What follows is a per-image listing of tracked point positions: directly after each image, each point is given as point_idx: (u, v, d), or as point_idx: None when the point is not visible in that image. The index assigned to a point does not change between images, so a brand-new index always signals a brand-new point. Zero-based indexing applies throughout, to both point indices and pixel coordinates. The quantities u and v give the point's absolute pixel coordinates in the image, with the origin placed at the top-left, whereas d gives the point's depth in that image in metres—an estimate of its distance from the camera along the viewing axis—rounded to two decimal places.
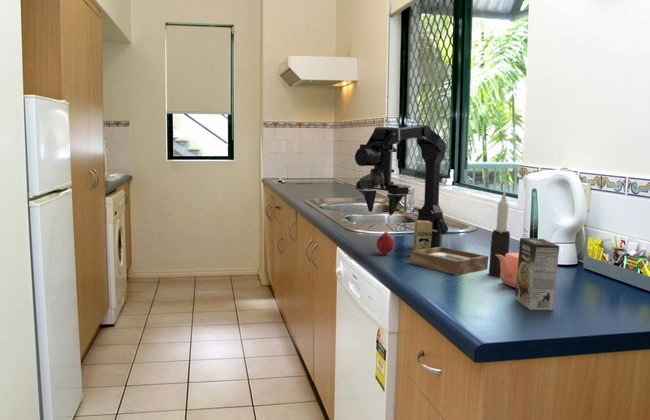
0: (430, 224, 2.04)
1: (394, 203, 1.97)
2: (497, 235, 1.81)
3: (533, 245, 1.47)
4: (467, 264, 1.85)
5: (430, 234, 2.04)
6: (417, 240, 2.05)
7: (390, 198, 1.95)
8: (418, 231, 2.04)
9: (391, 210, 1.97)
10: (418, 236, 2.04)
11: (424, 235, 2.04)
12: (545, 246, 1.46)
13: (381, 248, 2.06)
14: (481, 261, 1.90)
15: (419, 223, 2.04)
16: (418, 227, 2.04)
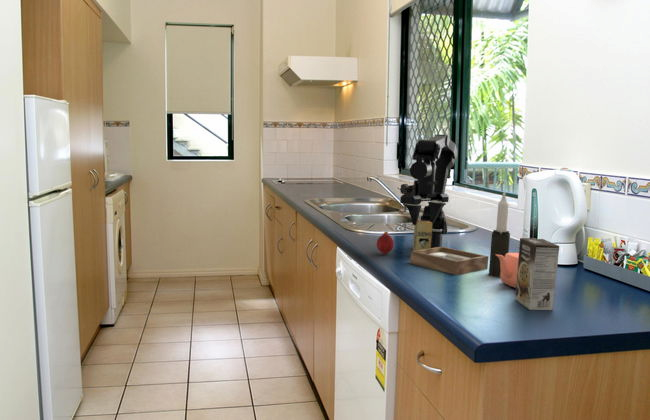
0: (430, 224, 2.04)
1: (413, 213, 2.02)
2: (497, 235, 1.81)
3: (533, 245, 1.47)
4: (467, 264, 1.85)
5: (430, 234, 2.04)
6: (417, 240, 2.05)
7: None
8: (418, 231, 2.04)
9: (412, 219, 2.03)
10: (418, 236, 2.04)
11: (424, 235, 2.04)
12: (545, 246, 1.46)
13: (381, 248, 2.06)
14: (481, 261, 1.90)
15: (419, 223, 2.04)
16: (418, 227, 2.04)
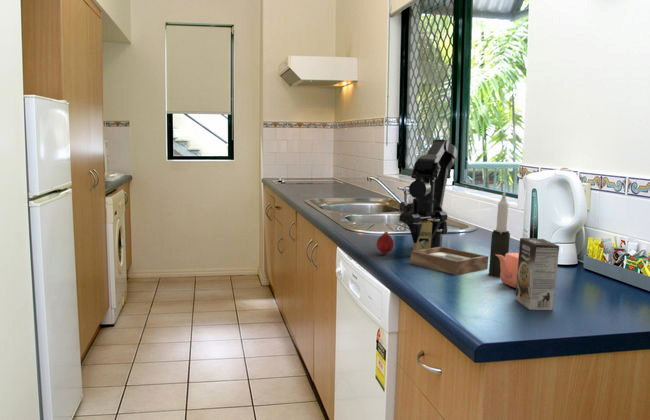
0: (430, 224, 2.04)
1: (413, 231, 2.03)
2: (497, 235, 1.81)
3: (533, 245, 1.47)
4: (467, 264, 1.85)
5: (430, 234, 2.04)
6: None
7: None
8: None
9: (413, 237, 2.05)
10: None
11: (424, 235, 2.04)
12: (545, 246, 1.46)
13: (381, 248, 2.06)
14: (481, 261, 1.90)
15: None
16: None
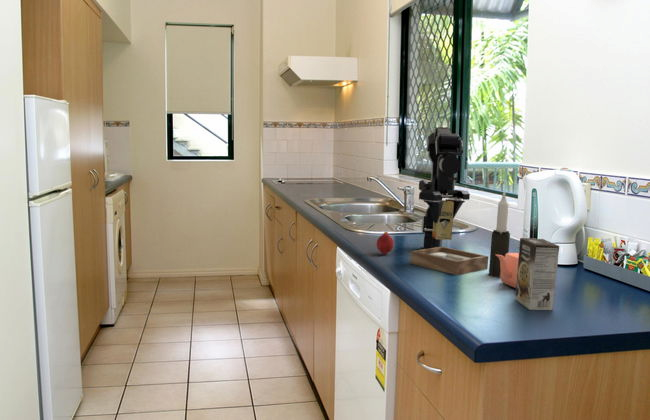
0: (451, 203, 1.93)
1: (434, 210, 1.92)
2: (497, 235, 1.81)
3: (533, 245, 1.47)
4: (467, 264, 1.85)
5: (451, 214, 1.93)
6: (438, 220, 1.94)
7: None
8: None
9: (433, 217, 1.93)
10: (439, 216, 1.93)
11: (445, 215, 1.93)
12: (545, 246, 1.46)
13: (381, 248, 2.06)
14: (481, 261, 1.90)
15: None
16: None
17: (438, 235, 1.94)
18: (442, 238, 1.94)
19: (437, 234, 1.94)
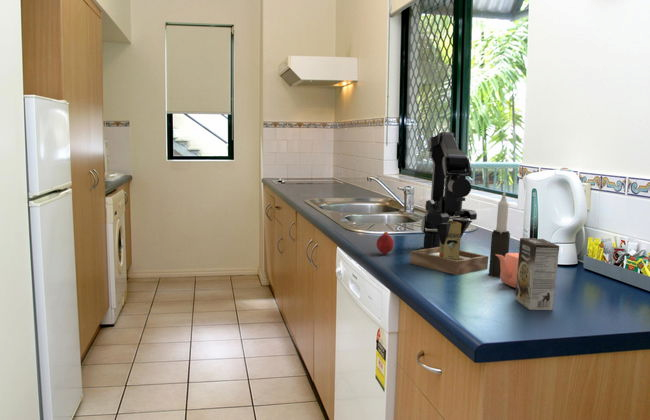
0: (459, 225, 1.91)
1: (441, 231, 1.90)
2: (497, 235, 1.81)
3: (533, 245, 1.47)
4: (467, 264, 1.85)
5: (459, 235, 1.91)
6: (445, 242, 1.91)
7: None
8: None
9: (440, 238, 1.91)
10: None
11: (452, 237, 1.91)
12: (545, 246, 1.46)
13: (381, 248, 2.06)
14: (481, 261, 1.90)
15: None
16: None
17: (445, 257, 1.92)
18: None
19: (444, 256, 1.92)
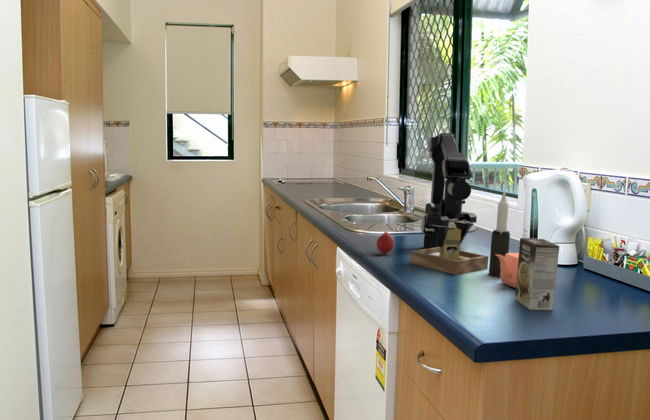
0: (459, 231, 1.91)
1: (439, 234, 1.89)
2: (497, 235, 1.81)
3: (533, 245, 1.47)
4: (467, 264, 1.85)
5: (459, 242, 1.91)
6: (445, 249, 1.91)
7: None
8: (446, 239, 1.91)
9: (438, 241, 1.90)
10: (446, 244, 1.91)
11: (452, 244, 1.91)
12: (545, 246, 1.46)
13: (381, 248, 2.06)
14: (481, 261, 1.90)
15: None
16: (446, 235, 1.91)
17: None
18: None
19: None
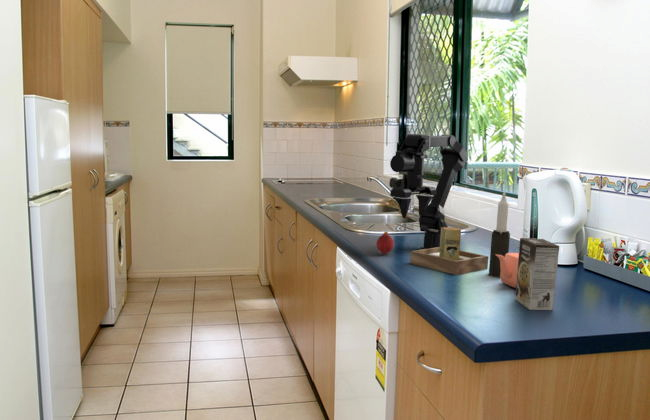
0: (459, 231, 1.91)
1: (402, 206, 2.06)
2: (497, 235, 1.81)
3: (533, 245, 1.47)
4: (467, 264, 1.85)
5: (459, 242, 1.91)
6: (445, 249, 1.91)
7: None
8: (446, 239, 1.91)
9: (402, 213, 2.07)
10: (446, 244, 1.91)
11: (452, 244, 1.91)
12: (545, 246, 1.46)
13: (381, 248, 2.06)
14: (481, 261, 1.90)
15: (447, 230, 1.90)
16: (446, 235, 1.91)
17: None
18: None
19: None
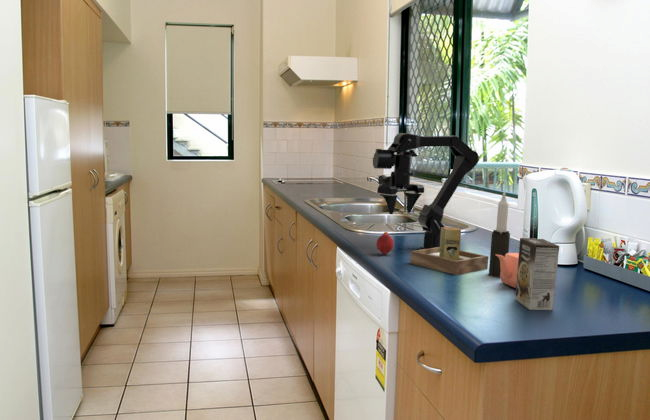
0: (459, 231, 1.91)
1: (389, 203, 2.12)
2: (497, 235, 1.81)
3: (533, 245, 1.47)
4: (467, 264, 1.85)
5: (459, 242, 1.91)
6: (445, 249, 1.91)
7: None
8: (446, 239, 1.91)
9: (389, 209, 2.13)
10: (446, 244, 1.91)
11: (452, 244, 1.91)
12: (545, 246, 1.46)
13: (381, 248, 2.06)
14: (481, 261, 1.90)
15: (447, 230, 1.90)
16: (446, 235, 1.91)
17: None
18: None
19: None
